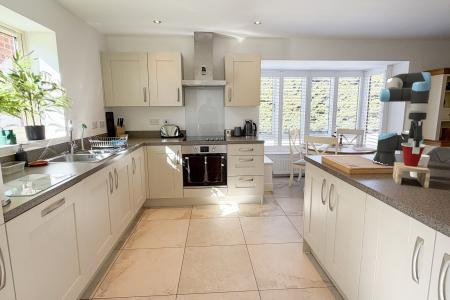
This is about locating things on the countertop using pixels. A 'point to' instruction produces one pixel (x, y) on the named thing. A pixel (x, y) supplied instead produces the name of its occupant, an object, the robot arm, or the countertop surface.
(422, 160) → the foam cup
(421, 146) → the plastic cup
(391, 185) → the countertop surface
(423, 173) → the oak shelf
